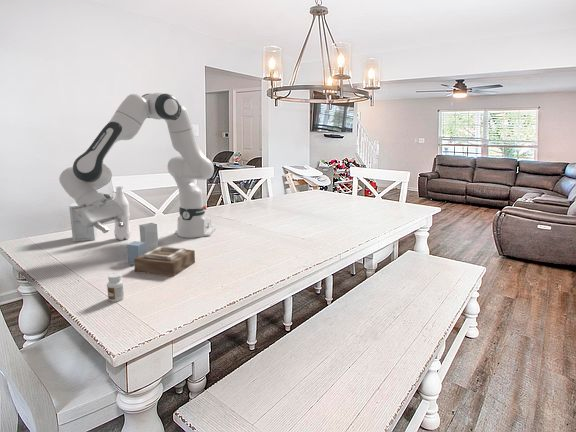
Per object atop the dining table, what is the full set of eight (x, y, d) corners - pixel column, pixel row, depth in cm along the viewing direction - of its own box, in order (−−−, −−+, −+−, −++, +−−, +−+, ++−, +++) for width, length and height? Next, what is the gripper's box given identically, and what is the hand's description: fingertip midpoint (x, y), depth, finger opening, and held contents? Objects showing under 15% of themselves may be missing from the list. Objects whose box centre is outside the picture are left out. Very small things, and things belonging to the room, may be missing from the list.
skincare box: (153, 248, 168) (151, 222, 166) (158, 250, 166) (157, 224, 163) (140, 251, 164) (138, 224, 161) (145, 254, 161) (144, 226, 158)
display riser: (159, 258, 156) (158, 243, 155) (194, 262, 152) (194, 247, 151) (134, 271, 141) (133, 255, 139) (173, 276, 137) (173, 260, 136)
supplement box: (97, 235, 187) (94, 201, 184) (95, 240, 179) (92, 205, 175) (75, 236, 184) (71, 202, 180) (72, 241, 175) (68, 205, 172)
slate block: (135, 259, 154) (134, 241, 153) (146, 260, 153) (145, 242, 152) (127, 262, 150) (126, 244, 148) (139, 264, 149) (137, 245, 147)
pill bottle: (105, 299, 117) (103, 275, 116) (119, 294, 121) (117, 271, 119) (112, 303, 115) (111, 279, 113) (126, 298, 118) (125, 275, 116)
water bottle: (131, 240, 180) (127, 187, 175) (114, 241, 178) (110, 188, 172) (131, 236, 187) (127, 185, 181) (115, 237, 184) (111, 186, 179)
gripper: (76, 202, 140) (100, 230, 140) (113, 194, 160) (135, 218, 160) (67, 213, 142) (91, 240, 142) (105, 203, 162) (126, 228, 162)
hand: (115, 229), depth 151 cm, fingers open, 8 cm apart
